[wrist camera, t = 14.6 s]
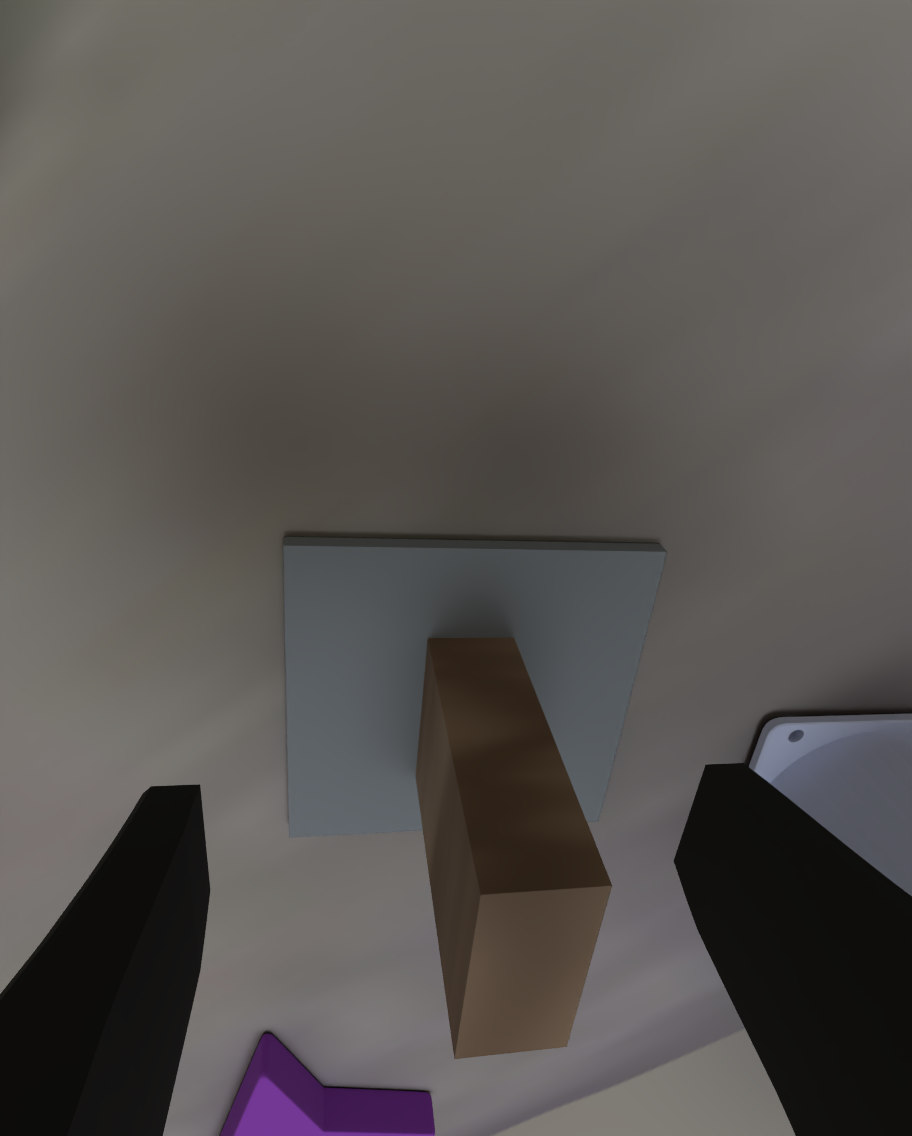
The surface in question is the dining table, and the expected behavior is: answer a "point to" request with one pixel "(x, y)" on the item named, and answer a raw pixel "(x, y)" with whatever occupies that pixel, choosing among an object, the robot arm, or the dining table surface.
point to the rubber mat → (448, 610)
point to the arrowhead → (318, 1103)
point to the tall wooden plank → (503, 852)
